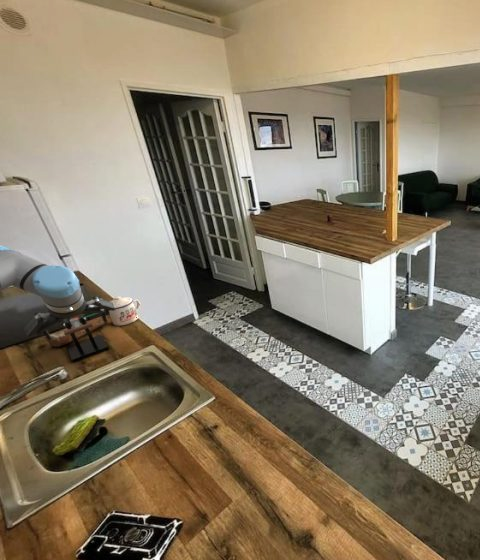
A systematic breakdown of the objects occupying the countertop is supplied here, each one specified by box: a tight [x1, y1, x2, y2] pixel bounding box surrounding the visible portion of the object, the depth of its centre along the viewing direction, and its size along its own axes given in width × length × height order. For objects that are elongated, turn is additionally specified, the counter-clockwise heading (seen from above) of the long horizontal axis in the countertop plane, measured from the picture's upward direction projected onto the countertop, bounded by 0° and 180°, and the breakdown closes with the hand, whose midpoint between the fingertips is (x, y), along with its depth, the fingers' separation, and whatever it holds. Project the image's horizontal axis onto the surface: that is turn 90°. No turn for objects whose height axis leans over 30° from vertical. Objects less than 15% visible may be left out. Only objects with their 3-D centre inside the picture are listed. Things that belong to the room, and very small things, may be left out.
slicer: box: [62, 314, 110, 363], centre depth 114 cm, size 12×10×14 cm
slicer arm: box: [64, 318, 93, 335], centre depth 108 cm, size 13×7×2 cm, turn 50°
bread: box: [44, 316, 108, 348], centre depth 123 cm, size 6×19×6 cm, turn 164°
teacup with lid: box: [109, 295, 141, 327], centre depth 134 cm, size 12×9×12 cm
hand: (77, 326), depth 102 cm, fingers open, 13 cm apart
